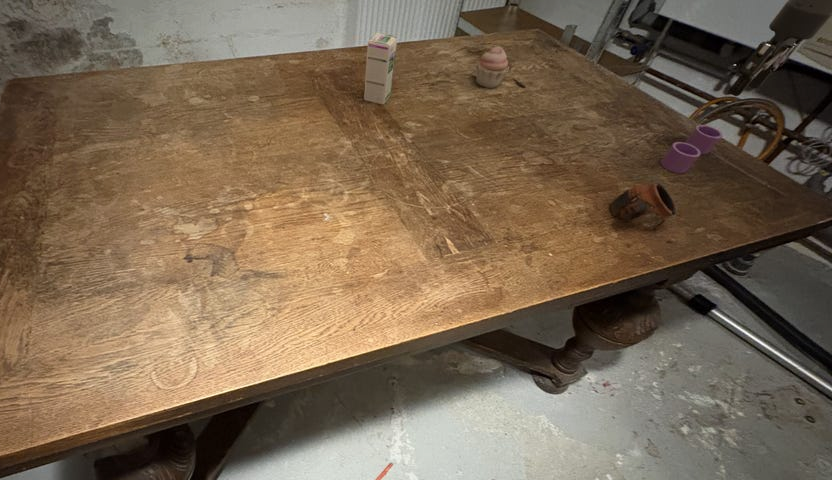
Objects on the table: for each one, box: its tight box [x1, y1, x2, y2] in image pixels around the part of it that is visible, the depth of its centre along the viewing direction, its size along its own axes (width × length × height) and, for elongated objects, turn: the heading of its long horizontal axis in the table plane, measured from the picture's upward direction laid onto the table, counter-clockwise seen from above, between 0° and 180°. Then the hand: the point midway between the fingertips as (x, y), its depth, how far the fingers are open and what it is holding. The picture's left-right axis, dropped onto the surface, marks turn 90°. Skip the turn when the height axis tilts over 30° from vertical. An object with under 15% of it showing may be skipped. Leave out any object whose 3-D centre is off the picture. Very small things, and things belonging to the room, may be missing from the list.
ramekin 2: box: [683, 124, 723, 155], centre depth 100 cm, size 6×6×4 cm
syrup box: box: [363, 32, 398, 106], centre depth 102 cm, size 6×6×14 cm
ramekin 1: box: [659, 141, 702, 174], centre depth 94 cm, size 6×6×4 cm
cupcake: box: [475, 45, 510, 89], centre depth 113 cm, size 9×9×10 cm
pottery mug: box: [610, 181, 677, 230], centre depth 80 cm, size 12×10×8 cm
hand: (742, 90), depth 89 cm, fingers open, 8 cm apart
